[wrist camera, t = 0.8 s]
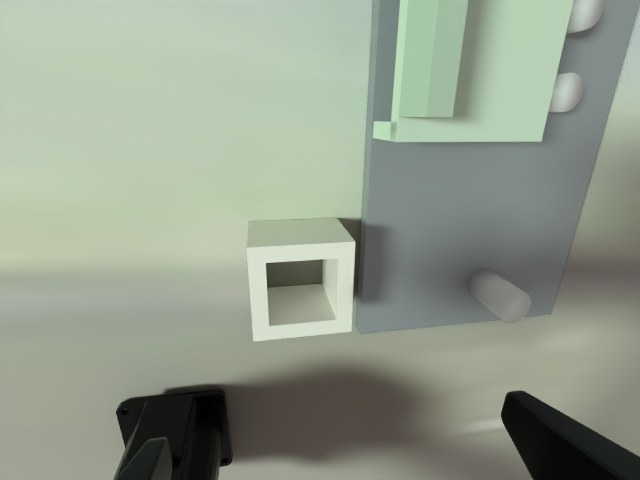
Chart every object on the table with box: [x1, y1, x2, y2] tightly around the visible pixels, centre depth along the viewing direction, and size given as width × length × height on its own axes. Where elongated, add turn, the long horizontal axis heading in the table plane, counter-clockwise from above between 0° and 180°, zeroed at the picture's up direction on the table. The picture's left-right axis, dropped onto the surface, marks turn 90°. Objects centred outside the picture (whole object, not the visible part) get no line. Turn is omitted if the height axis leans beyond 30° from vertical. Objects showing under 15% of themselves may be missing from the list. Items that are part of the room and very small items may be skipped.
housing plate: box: [356, 0, 640, 334], centre depth 18 cm, size 20×14×4 cm
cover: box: [373, 0, 573, 142], centre depth 14 cm, size 8×7×6 cm
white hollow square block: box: [247, 218, 355, 341], centre depth 18 cm, size 5×5×4 cm
